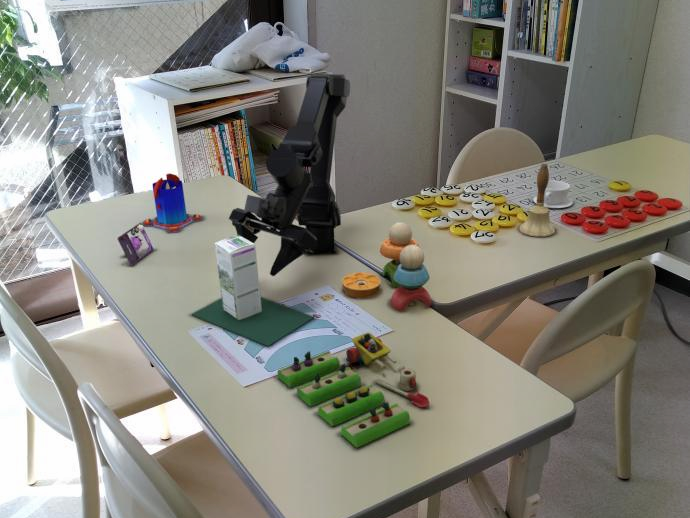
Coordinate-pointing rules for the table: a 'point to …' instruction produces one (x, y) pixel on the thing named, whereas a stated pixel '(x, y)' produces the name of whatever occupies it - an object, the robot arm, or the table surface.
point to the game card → (134, 244)
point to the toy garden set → (358, 400)
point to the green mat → (257, 321)
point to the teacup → (556, 195)
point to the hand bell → (539, 210)
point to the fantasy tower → (170, 205)
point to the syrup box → (238, 277)
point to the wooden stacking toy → (395, 271)
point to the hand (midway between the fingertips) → (253, 269)
